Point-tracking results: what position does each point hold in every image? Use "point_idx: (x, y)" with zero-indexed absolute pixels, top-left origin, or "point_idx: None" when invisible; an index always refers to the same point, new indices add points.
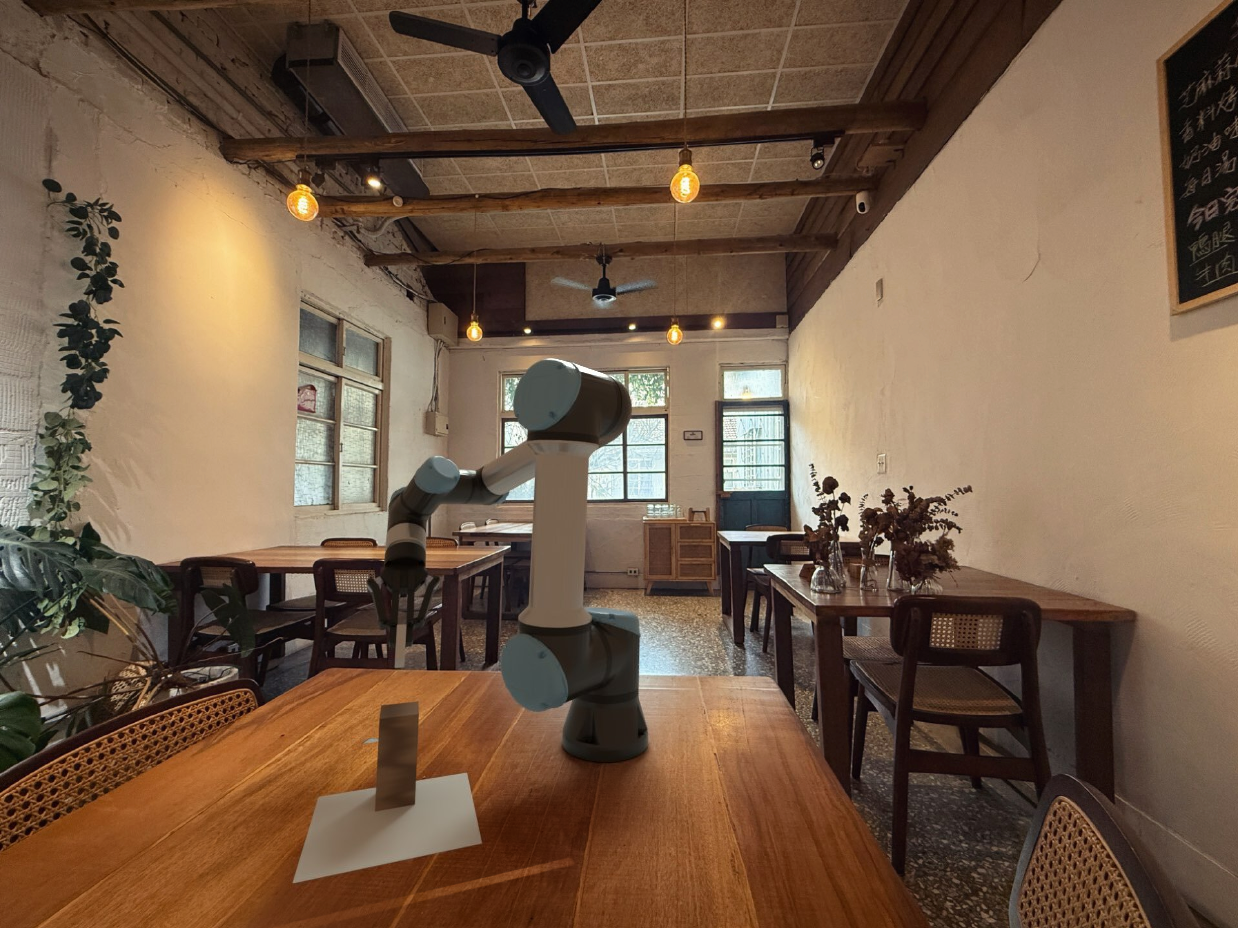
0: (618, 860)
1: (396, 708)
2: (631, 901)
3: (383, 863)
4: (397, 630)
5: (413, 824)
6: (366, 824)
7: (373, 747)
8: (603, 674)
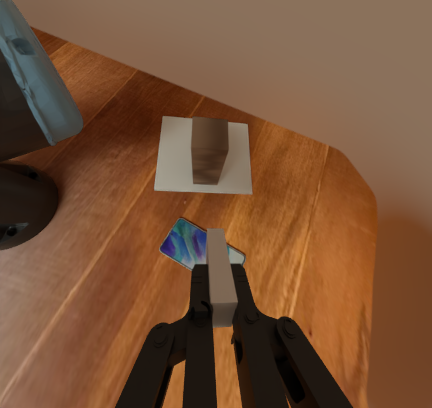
0: (101, 85)
1: (213, 136)
2: (111, 66)
3: None
4: (232, 282)
5: None
6: None
7: None
8: None
